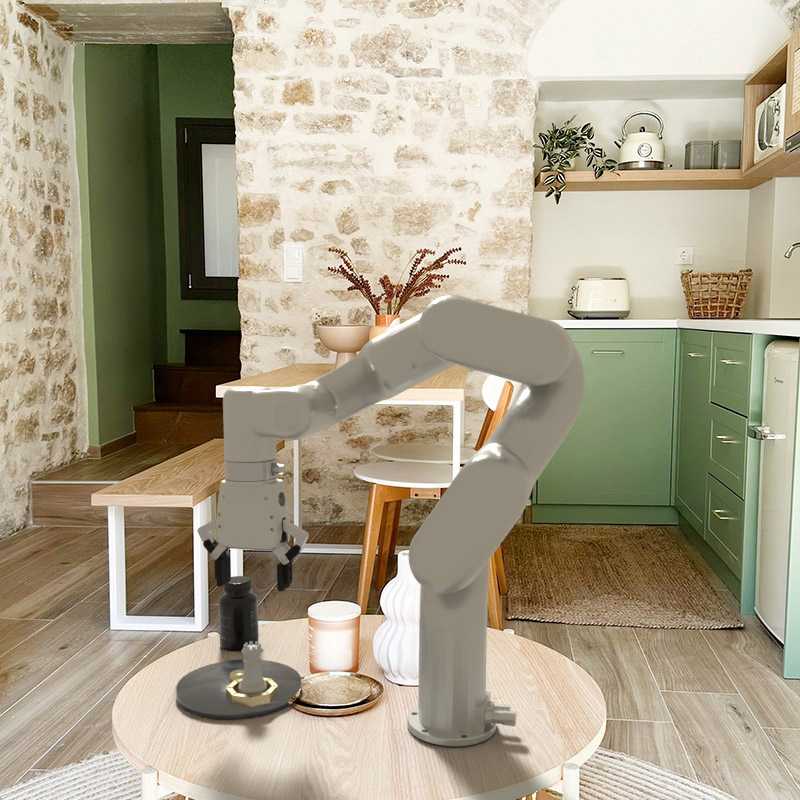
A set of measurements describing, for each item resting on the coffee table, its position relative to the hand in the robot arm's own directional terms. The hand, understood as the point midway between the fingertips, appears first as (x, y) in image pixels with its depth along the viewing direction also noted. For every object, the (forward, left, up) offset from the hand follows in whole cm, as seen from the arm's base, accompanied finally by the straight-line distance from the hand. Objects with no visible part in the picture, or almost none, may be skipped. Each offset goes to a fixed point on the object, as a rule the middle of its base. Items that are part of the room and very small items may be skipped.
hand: (253, 586), depth 127 cm
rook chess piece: (0, 0, -17) cm, 17 cm away
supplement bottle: (+13, -22, -19) cm, 32 cm away
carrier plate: (+4, -4, -18) cm, 19 cm away
